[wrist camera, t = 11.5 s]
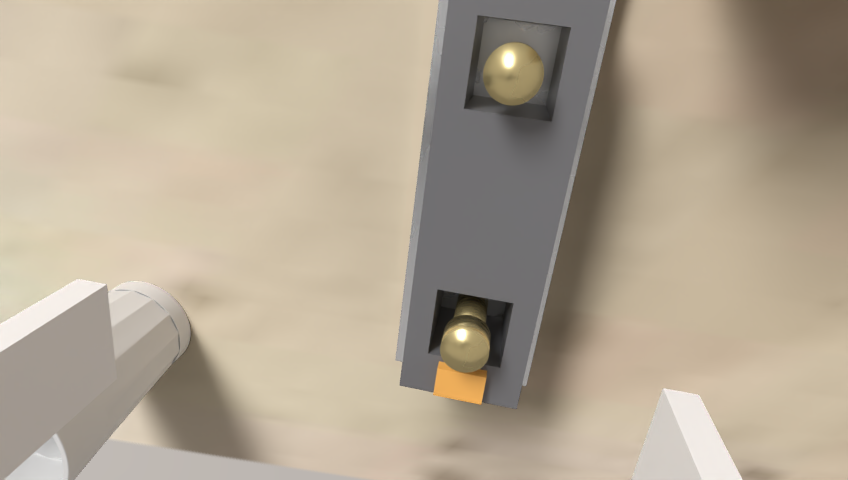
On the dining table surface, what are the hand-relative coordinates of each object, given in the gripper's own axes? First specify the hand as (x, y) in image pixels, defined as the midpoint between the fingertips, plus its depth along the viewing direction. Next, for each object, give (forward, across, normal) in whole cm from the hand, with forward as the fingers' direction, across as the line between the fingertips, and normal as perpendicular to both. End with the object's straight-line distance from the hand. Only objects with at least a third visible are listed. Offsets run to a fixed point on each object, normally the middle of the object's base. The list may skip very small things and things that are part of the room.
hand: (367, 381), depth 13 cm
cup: (+20, -19, -14) cm, 30 cm away
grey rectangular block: (+18, +2, +1) cm, 18 cm away
